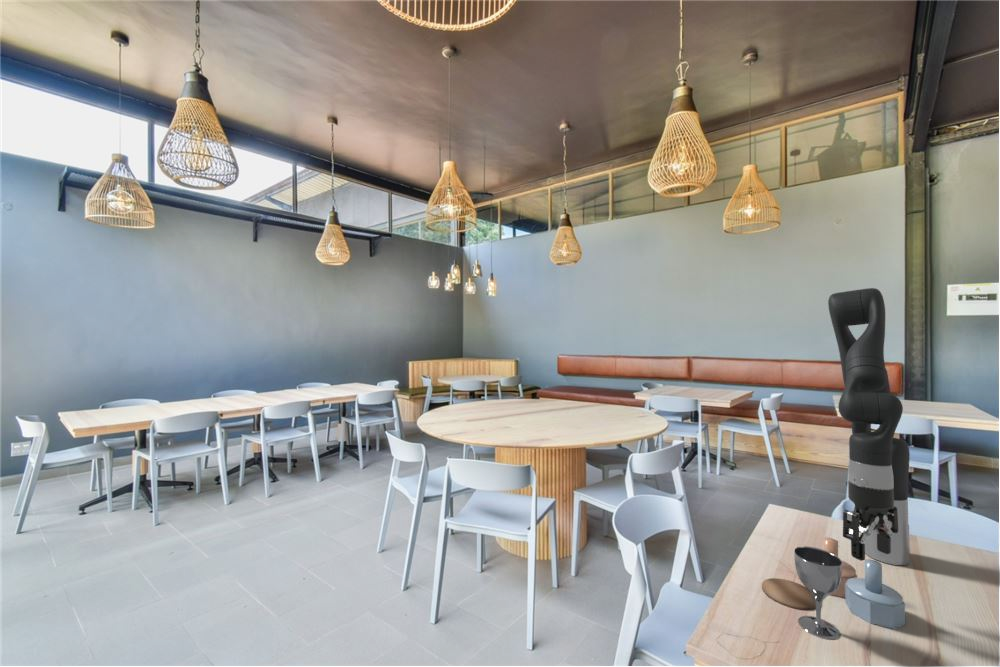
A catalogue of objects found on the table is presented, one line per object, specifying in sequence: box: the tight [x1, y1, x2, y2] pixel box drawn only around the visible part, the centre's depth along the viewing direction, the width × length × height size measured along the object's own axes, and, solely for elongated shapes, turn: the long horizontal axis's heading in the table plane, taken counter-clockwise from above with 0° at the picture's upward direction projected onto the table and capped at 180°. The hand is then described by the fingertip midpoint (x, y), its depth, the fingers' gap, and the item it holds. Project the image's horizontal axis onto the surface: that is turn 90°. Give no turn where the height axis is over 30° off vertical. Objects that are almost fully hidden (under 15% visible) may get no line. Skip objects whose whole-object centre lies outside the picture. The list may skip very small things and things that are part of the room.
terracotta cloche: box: [823, 537, 858, 599], centre depth 101 cm, size 9×9×11 cm
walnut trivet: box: [761, 577, 816, 611], centre depth 98 cm, size 11×11×1 cm
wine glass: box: [794, 546, 843, 640], centre depth 87 cm, size 8×8×15 cm
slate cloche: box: [845, 558, 906, 630], centre depth 91 cm, size 9×9×11 cm
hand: (871, 555), depth 91 cm, fingers open, 8 cm apart
